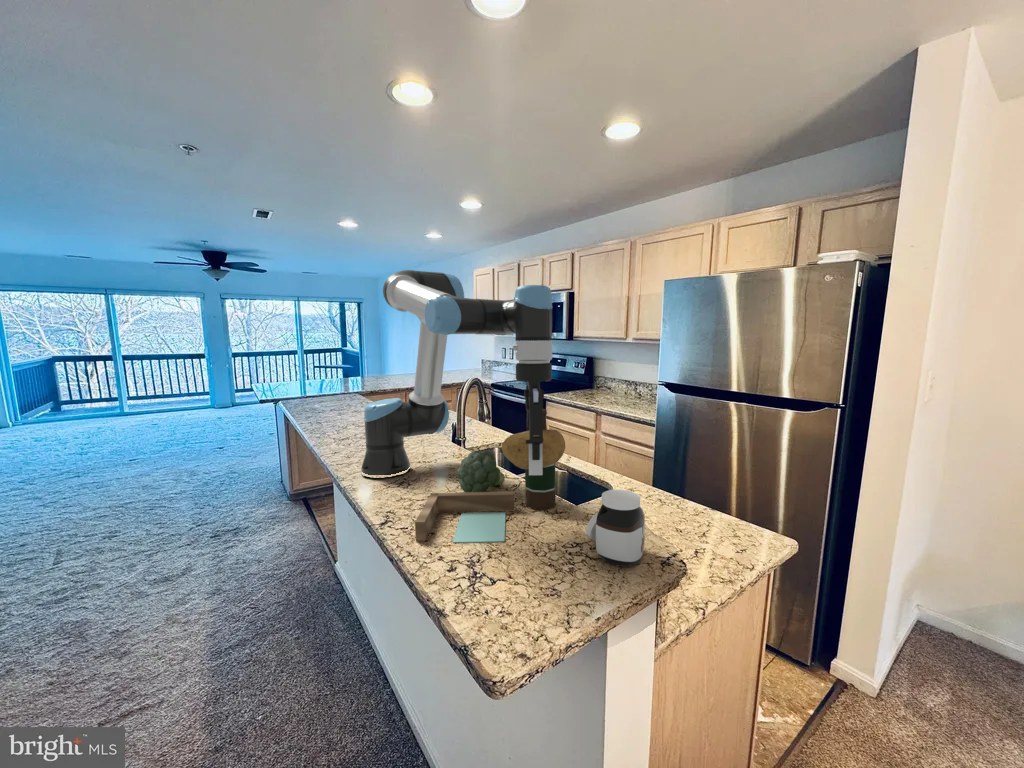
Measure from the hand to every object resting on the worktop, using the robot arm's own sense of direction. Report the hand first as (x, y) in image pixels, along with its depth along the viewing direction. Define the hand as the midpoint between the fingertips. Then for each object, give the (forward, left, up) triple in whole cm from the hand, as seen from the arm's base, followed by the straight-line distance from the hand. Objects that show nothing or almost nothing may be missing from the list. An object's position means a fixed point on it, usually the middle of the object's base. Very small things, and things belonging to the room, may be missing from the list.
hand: (534, 466), depth 85 cm
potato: (0, 0, 0) cm, 0 cm away
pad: (-2, -12, -14) cm, 18 cm away
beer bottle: (-14, +2, -14) cm, 20 cm away
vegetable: (-24, -13, -14) cm, 31 cm away
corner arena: (-4, -15, -14) cm, 20 cm away
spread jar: (+10, +14, -14) cm, 23 cm away
